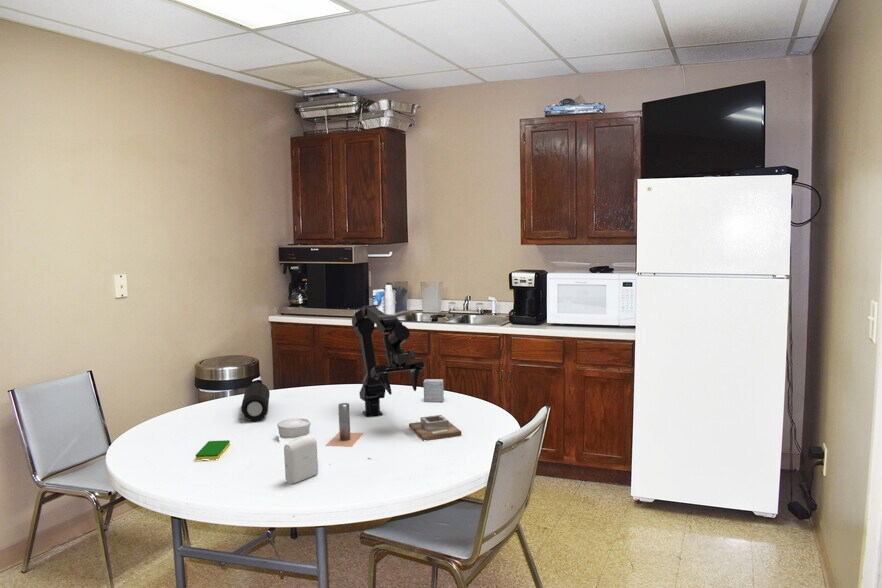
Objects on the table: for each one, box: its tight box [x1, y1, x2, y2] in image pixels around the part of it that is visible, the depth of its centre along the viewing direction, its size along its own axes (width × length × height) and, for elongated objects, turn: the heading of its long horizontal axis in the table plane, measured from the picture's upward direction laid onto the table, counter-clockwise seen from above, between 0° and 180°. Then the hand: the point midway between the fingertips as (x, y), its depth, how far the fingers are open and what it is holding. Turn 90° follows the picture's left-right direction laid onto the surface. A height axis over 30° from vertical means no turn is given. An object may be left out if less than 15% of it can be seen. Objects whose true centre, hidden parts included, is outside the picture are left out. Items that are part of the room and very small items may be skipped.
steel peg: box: [337, 402, 351, 441], centre depth 223 cm, size 4×4×12 cm
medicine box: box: [423, 378, 445, 403], centre depth 274 cm, size 8×4×9 cm, turn 84°
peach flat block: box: [325, 432, 364, 448], centre depth 223 cm, size 14×9×2 cm, turn 170°
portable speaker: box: [240, 382, 270, 422], centre depth 261 cm, size 26×10×10 cm, turn 13°
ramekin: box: [276, 417, 312, 438], centre depth 231 cm, size 11×11×5 cm
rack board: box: [408, 414, 462, 442], centre depth 234 cm, size 16×14×4 cm
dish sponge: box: [195, 439, 231, 461], centre depth 217 cm, size 7×14×2 cm, turn 2°
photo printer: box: [283, 434, 319, 485], centre depth 193 cm, size 10×4×12 cm, turn 140°
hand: (403, 392), depth 229 cm, fingers open, 9 cm apart
